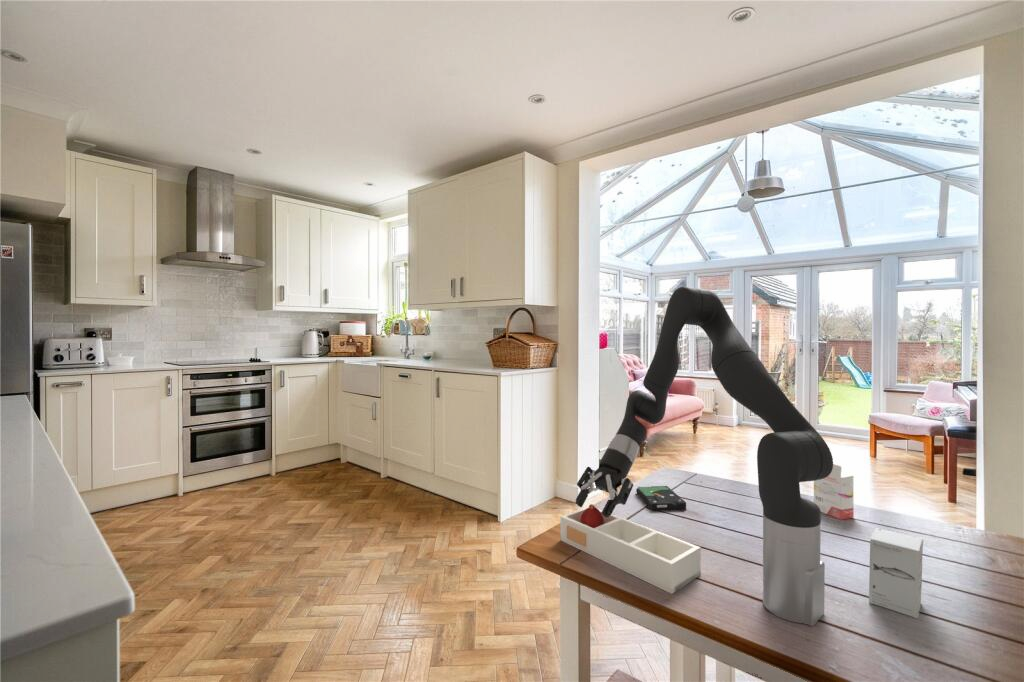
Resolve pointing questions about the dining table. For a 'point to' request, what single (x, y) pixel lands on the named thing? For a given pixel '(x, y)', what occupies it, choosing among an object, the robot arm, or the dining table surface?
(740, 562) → the dining table surface
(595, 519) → the onion
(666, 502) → the disk drive
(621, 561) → the compartment tray
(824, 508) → the ink cartridge box
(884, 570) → the supplement box
